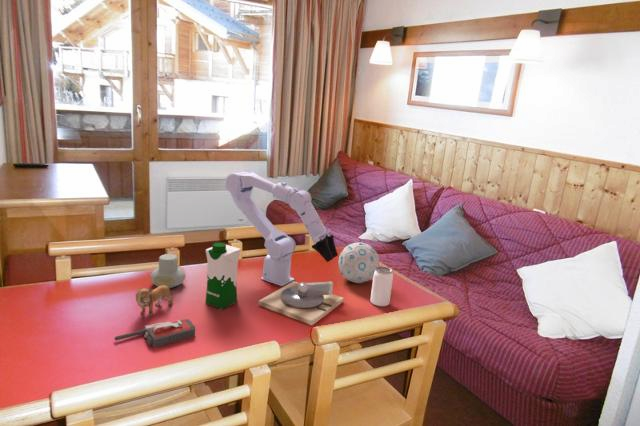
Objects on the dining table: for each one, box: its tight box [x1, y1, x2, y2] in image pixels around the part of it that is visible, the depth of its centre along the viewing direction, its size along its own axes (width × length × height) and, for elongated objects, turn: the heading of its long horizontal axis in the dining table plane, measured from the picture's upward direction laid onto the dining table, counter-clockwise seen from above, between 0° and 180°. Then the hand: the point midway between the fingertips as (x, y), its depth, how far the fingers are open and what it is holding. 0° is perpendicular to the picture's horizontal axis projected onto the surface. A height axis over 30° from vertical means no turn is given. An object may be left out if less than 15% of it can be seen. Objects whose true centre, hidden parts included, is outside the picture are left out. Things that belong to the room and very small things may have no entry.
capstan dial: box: [281, 281, 334, 309], centre depth 145 cm, size 17×14×5 cm
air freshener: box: [150, 253, 186, 289], centre depth 149 cm, size 11×8×10 cm
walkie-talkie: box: [114, 318, 196, 348], centre depth 119 cm, size 9×4×20 cm
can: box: [370, 266, 394, 308], centre depth 150 cm, size 6×6×12 cm
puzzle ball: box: [338, 241, 380, 284], centre depth 166 cm, size 15×15×15 cm
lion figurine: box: [135, 285, 174, 317], centre depth 132 cm, size 15×5×9 cm, turn 163°
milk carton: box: [205, 241, 242, 310], centre depth 139 cm, size 9×9×20 cm
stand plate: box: [257, 280, 344, 326], centre depth 146 cm, size 20×20×2 cm
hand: (332, 258), depth 150 cm, fingers open, 7 cm apart
